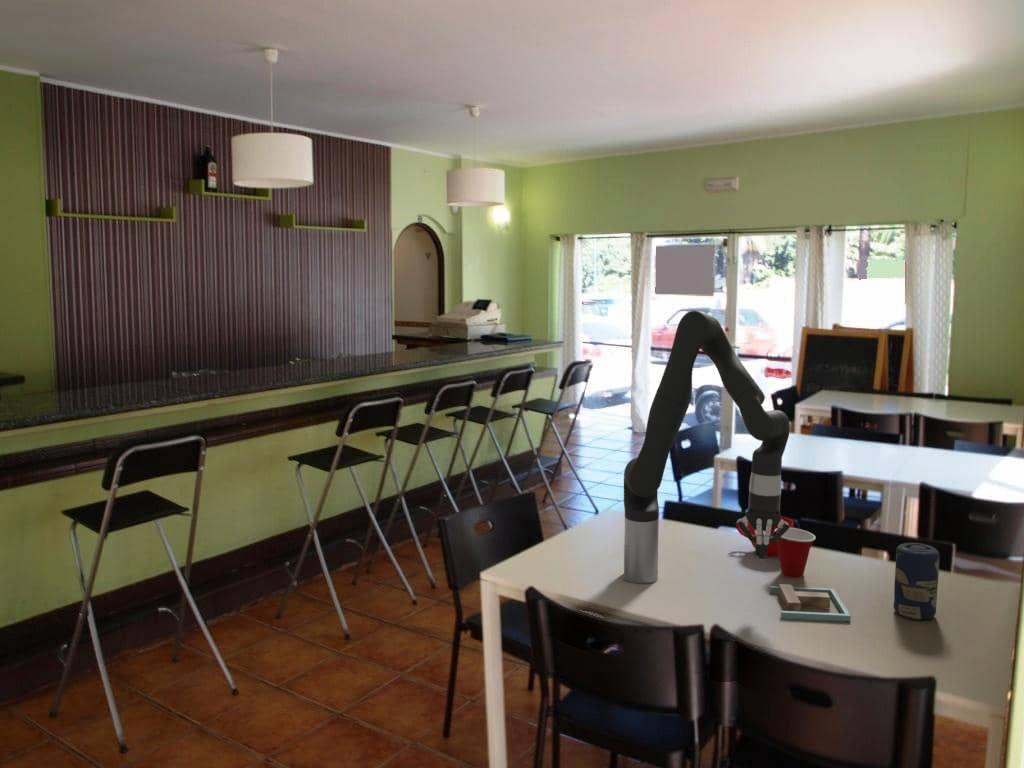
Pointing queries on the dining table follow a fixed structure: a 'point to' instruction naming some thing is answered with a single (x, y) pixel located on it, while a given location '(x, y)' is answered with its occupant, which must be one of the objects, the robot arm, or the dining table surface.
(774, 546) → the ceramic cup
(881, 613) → the dining table surface
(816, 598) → the t block
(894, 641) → the dining table surface
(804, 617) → the dock
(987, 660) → the dining table surface
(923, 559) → the canister
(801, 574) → the plastic cup
